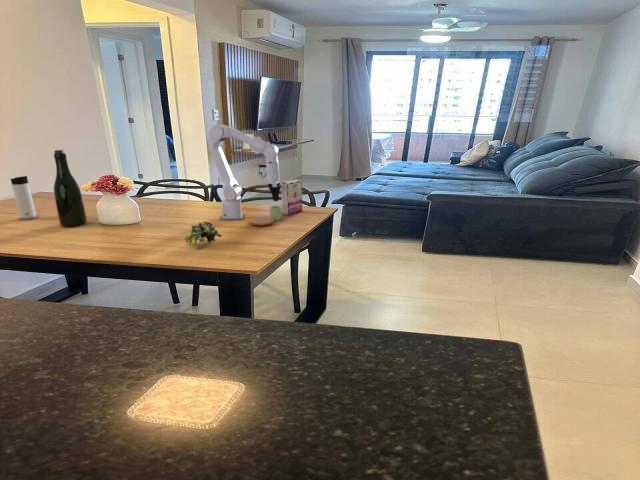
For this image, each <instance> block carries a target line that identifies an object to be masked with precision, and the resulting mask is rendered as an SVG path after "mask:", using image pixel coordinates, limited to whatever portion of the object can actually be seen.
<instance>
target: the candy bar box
mask: <svg viewBox="0 0 640 480" xmlns="http://www.w3.org/2000/svg"><path fill="white" fill-rule="evenodd" d="M302 182H303V181H302V180H301V179H291V180H287V181H281V182H280V186H281V188H280V196H281V198H280V199H281V215H286V216H290V215H294V214H297V213H301V212H302V211H303V183H302Z"/></svg>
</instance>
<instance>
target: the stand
mask: <svg viewBox="0 0 640 480" xmlns="http://www.w3.org/2000/svg"><path fill="white" fill-rule="evenodd" d="M248 222H249V224H250V225H254V226H259V227H260V226H262V227H265V226H267V225H271V224H273V223H274V221H273V219H272V218H270V217H267V216H255V217H253V218H250V219H249V221H248Z"/></svg>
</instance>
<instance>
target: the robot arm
mask: <svg viewBox="0 0 640 480" xmlns="http://www.w3.org/2000/svg"><path fill="white" fill-rule="evenodd" d="M207 134H208V146H207V147H208V150H209V151H210V153H211V154H210V155H211V156H212V159H213V161H214V163H215V166H216V168H217V172H218V173H219V176H220V178H221V180H222V190H223V197H224V199H221V216H222V220H242V219H243V218H244V213H243V212H242V211H243V209H242V197H241V195H242V193H243V189H242V187H241V186H240V184H238V181H237V180H236V179H235V178H234V176H233V174H232V170H231V168H230V166H229V164H228V161H227V159H226V156H225V154H224V151H223V149H222V146H223V144H224V141H225V140H227V139H228V138H233V139H235V140H238V141H240V142H242V143H245V144H247V145H248V146H249V149H251V150H254V151H255V152H258V153H260V154H262V155H263V156H264V157H265V165H266V166H265V169H266V176H267V185H268V189H269V191H270V193H271V197H272V201H273V202H279V197H280V192H281V183H282V182H283V179H281V176H280V167H279V160H278V159H279V157H278V154H279V148H278V146H277V145H275V144H274V143H270V142H269V141H265V140H263V139H261V137H260V136H253V137H251V136H249V135H247V134H245V133H244V132H241V131H240V130H238V129H236V128H234V127H232V126H229V125H226V124H224V123H222V124H213V125H212V126H211V127H210V128H209V130H208V133H207Z"/></svg>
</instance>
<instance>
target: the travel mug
mask: <svg viewBox="0 0 640 480" xmlns="http://www.w3.org/2000/svg"><path fill="white" fill-rule="evenodd" d="M10 182H11V188H12V192H13V195H14V200H15V204H16V208H17V212H18V215H19V219H20V220H21V221H28V220H35V219H36V218H37V217H38V216H37V213H36V208H35V204H34V200H33V196H32V192H31V187H30V184H29V180H28V176H27V175H24V176H16V177H13V178H10Z"/></svg>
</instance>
